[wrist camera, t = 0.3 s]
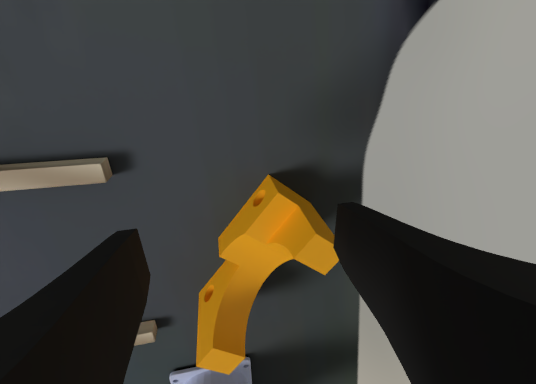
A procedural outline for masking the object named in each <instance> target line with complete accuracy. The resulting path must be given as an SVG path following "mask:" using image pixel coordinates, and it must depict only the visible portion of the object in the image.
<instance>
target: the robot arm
mask: <svg viewBox="0 0 536 384" xmlns="http://www.w3.org/2000/svg"><path fill="white" fill-rule="evenodd" d="M333 248H334V250H335V252H336V254H337V257H338V259H339V261H340V263H341V265H342V267H343V269H344V271H345V272H346V274H347V275H348V277H349V279H350V280H351V282H352V283H353V285H354V286H355V288H356V289H357V291H358V292H359V294H360V295H361V297H362V298H363V300H364V301H365V303H366V304H367V306H368V307H369V309H370V310H371V312H372V313H373V315H374V316H375V318H376V319H377V321H378V323H379V324H380V326H381V327H382V329H383V331H384V332H385V334H386V336H387V338H388V339H389V342H390V344H391V345H392V347H393V349H394V351H395V353H396V355H397V357H398V359H399V360H400V362H401V364H402V366H403V368H404V370H405V372H406V374H407V376H408V378H409V380H410V382H411V384H536V264H533V263H528V262H524V261H519V260H516V259H512V258H508V257H504V256H500V255H496V254H492V253H489V252H485V251H481V250H478V249H475V248H472V247H468V246H465V245H462V244H459V243H455V242H453V241H450V240H447V239H444V238H441V237H438V236H436V235H433V234H430V233H428V232H425V231H423V230H420V229H418V228H415V227H413V226H410V225H408V224H405V223H403V222H400V221H398V220H396V219H393V218H391V217H389V216H387V215H384V214H382V213H380V212H377V211H375V210H373V209H370V208H368V207H365V206H363V205H360V204H357V203H354V202H350V203H342V204H338V208H337V217H336V227H335V237H334V246H333ZM149 282H150V272H149V269H148V265H147V262H146V258H145V255H144V251H143V248H142V244H141V241H140V237H139V234H138V230H137V229H130V230H122V231H117V232H116V233H114V234H113V235H111V236H110V237H108V238H107V239H106V240H105V241H103V242H102V243H101V244H100V245H98V246H97V247H96V248H95V249H93V250H92V251H91V252H90V253H88V254H87V255H86V256H85V257H83V258H82V259H81V260H79V261H78V262H77V263H76V264H74V265H73V266H72V267H71V268H69V269H68V270H67V271H66V272H64V273H63V274H62V275H60V276H59V277H57V278H56V279H55V280H53V281H52V282H51V283H49V284H48V285H47V286H45V287H44V288H43V289H41V290H40V291H38V292H37V293H36V294H34V295H33V296H32V297H30V298H29V299H27V300H26V301H25V302H23V303H22V304H20V305H19V306H17V307H16V308H14V309H13V310H11V311H10V312H8V313H7V314H5V315H4V316H2V317H1V318H0V384H123V382H124V378H125V374H126V371H127V367H128V364H129V360H130V357H131V354H132V350H133V347H134V344H135V340H136V337H137V334H138V330H139V327H140V323H141V320H142V316H143V313H144V309H145V306H146V302H147V296H148V289H149ZM170 382H171V384H252V376H251V362H250V358H249V357H246V358H245V359H244V360H243V361H242V362H241V363H240V364H239V365H238V366H237V367H236V368H235V369H234V370H233V371H232V372H231V373H230V374H229V375H228V374H224V373H220V372H216V371H212V370H208V369H204V368H200V367H193V368H188V369H183V370H178V371H174V372H172V373H171V374H170Z"/></svg>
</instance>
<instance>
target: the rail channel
mask: <svg viewBox="0 0 536 384" xmlns="http://www.w3.org/2000/svg"><path fill="white" fill-rule="evenodd" d="M111 176H112V171H111V168H110V164H109V161H108V158H107V157H105V158H90V159H76V160H61V161H47V162H33V163H18V164H4V165H0V191H10V190H22V189H34V188H46V187H58V186H70V185H82V184H93V183H105V182H107V181H108V180H109V179H110V177H111ZM156 334H157V326H156V322H155V320H151V321H146V322H141V323H140V327H139V330H138V334H137V337H136V340H135V344H134V345H140V344H145V343H151V342H155V339H156Z"/></svg>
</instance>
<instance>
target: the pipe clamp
mask: <svg viewBox="0 0 536 384" xmlns="http://www.w3.org/2000/svg"><path fill="white" fill-rule="evenodd" d="M334 237H335V236H334V235H333V233H332V232H331V230H330V229H329V228H328V226H327V225H326V224H325V222H324V221H323V219H322V218H321V217H320V215H319V214H318V213H317V211H316V210H315V208H314V207H313V206H312V204H311V203H310V202H309V201H307V200H306V199H304V198H303V197H301V196H300V195H298V194H297V193H295V192H294V191H292V190H291V189H289V188H288V187H286V186H285V185H283V184H282V183H280V182H279V181H277V180H276V179H275V178H273V177H272V176H270V175H269V174H268V176H267V177H266V178H265V180H264V181H263V182H262V183H261V185H260V186H259V187H258V188H257V190H256V191H255V192H254V193H253V195H252V196H251V197H250V199H249V200H248V201H247V202H246V204H245V205H244V206H243V207H242V209H241V210H240V211H239V213H238V214H237V215H236V216H235V218H234V219H233V220H232V221H231V223H230V224H229V225H228V227H227V228H226V229H225V230H224V232H223V233H222V234H221V235H220V237H219V238H218V240H219V257H221V258H223V259H226V261H225V262H224V263H223V264H222V266H221V267H220V268H219V269H218V271H217V272H216V273H215V274H214V275H213V277H212V278H211V279H210V280H209V282H208V283H207V284H206V285H205V286H204V288H203V289H202V290H201V291H200V293H199V310H198V335H197V359H196V367H200V368H204V369H208V370H212V371H216V372H220V373H224V374H228V375H229V374H230V373H231V372H232V371H233V370H234V369H235V368H236V367H237V366H238V365H239V364H240V363H241V362H242V361H243V360H244V359H245V358H246V357H245V334H246V326H247V321H248V317H249V313H250V310H251V307H252V304H253V302H254V299H255V297H256V295H257V293H258V291H259V289H260V287H261V286H262V284H263V283H264V281H265V280H266V278H267V277H268V276H269V275H270V274H271V272H272V271H274V270H275V269H276V268H277V267H278V266H279V265H281V264H282V263H284V262H286V261H288V260H291V259H295V260H297V261H299V262H301V263H303V264H305V265H307V266H309V267H310V268H312V269H314V270H316V271H318V272H320V273H322V274H324V275H326V273H327V272H328V271H329V270H330V269H331V268H332V267H333V266H334V265H335V264H336V263H337V262H338V261H339V259H338V257H337V254H336V252H335V250H334V248H333V246H334Z"/></svg>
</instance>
